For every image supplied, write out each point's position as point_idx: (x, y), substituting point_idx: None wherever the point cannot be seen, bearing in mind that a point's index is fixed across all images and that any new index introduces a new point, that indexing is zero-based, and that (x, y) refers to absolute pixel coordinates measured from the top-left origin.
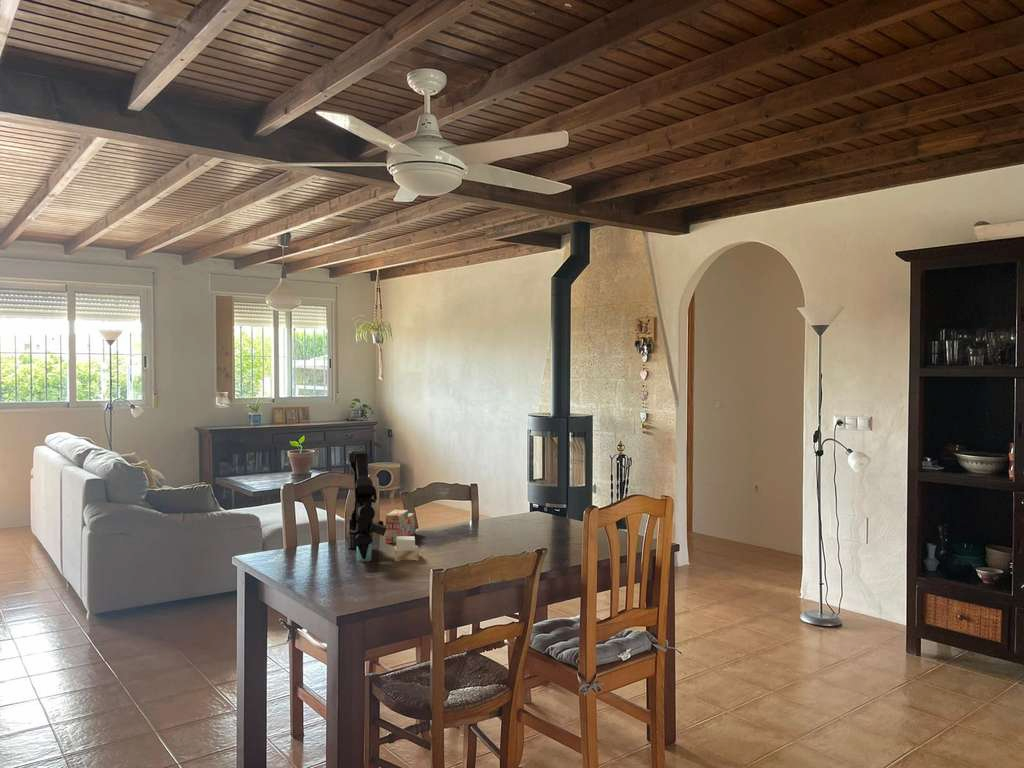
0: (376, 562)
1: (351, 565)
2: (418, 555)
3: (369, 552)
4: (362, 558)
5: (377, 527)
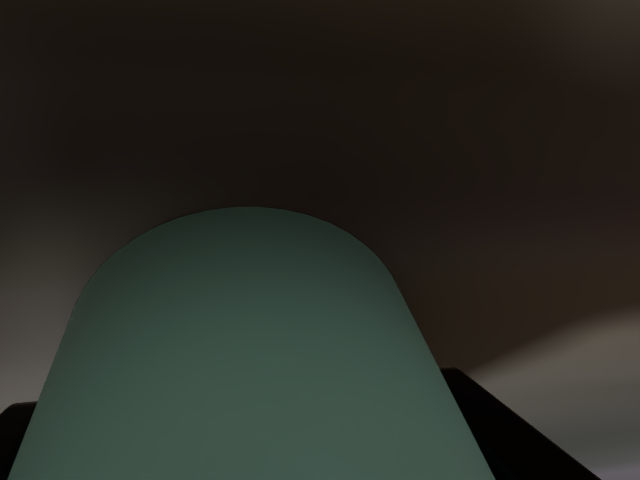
0: (589, 74)
1: None
2: None
3: (436, 404)
4: None
5: None
